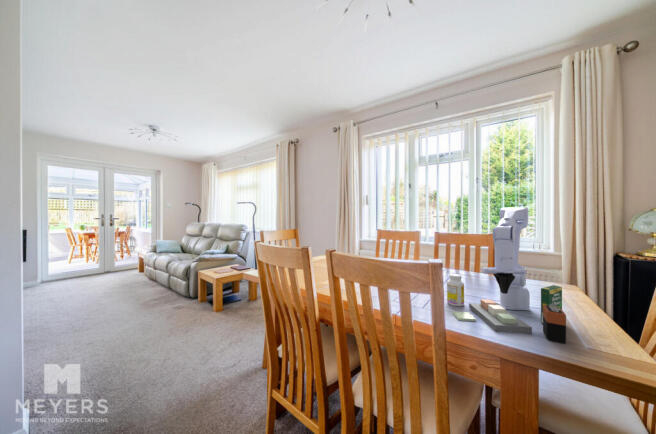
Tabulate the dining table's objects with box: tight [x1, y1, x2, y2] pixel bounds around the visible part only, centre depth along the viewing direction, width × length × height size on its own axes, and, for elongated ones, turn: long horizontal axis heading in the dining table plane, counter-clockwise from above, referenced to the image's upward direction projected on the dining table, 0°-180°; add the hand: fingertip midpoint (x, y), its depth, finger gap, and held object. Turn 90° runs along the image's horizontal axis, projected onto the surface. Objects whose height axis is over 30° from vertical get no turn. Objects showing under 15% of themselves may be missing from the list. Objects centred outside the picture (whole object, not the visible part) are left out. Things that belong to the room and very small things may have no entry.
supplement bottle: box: [446, 273, 465, 307], centre depth 103 cm, size 7×7×13 cm
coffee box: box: [540, 284, 563, 325], centre depth 85 cm, size 8×3×13 cm, turn 111°
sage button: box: [497, 313, 516, 324], centre depth 82 cm, size 4×4×3 cm
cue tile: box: [452, 311, 477, 322], centre depth 90 cm, size 6×6×1 cm
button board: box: [468, 302, 533, 334], centre depth 88 cm, size 11×20×2 cm, turn 171°
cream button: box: [488, 304, 507, 316], centre depth 88 cm, size 4×4×3 cm
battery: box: [542, 304, 567, 345], centre depth 75 cm, size 4×7×10 cm, turn 146°
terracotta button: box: [480, 298, 498, 310], centre depth 94 cm, size 4×4×3 cm
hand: (503, 292), depth 90 cm, fingers closed
